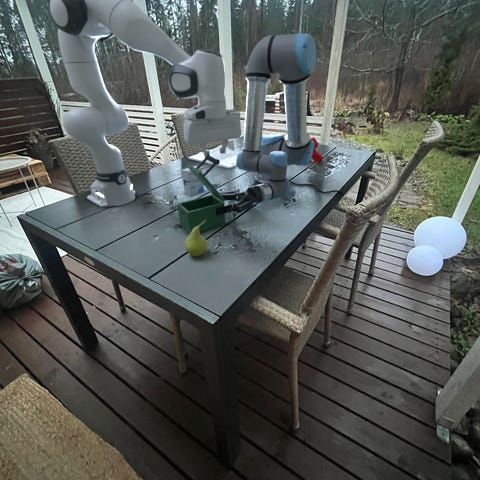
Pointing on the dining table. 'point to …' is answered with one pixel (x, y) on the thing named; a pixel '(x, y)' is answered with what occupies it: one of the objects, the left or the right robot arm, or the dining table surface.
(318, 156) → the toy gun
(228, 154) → the relief map
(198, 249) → the fruit
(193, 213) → the chest
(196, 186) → the ink box
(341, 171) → the dining table surface
